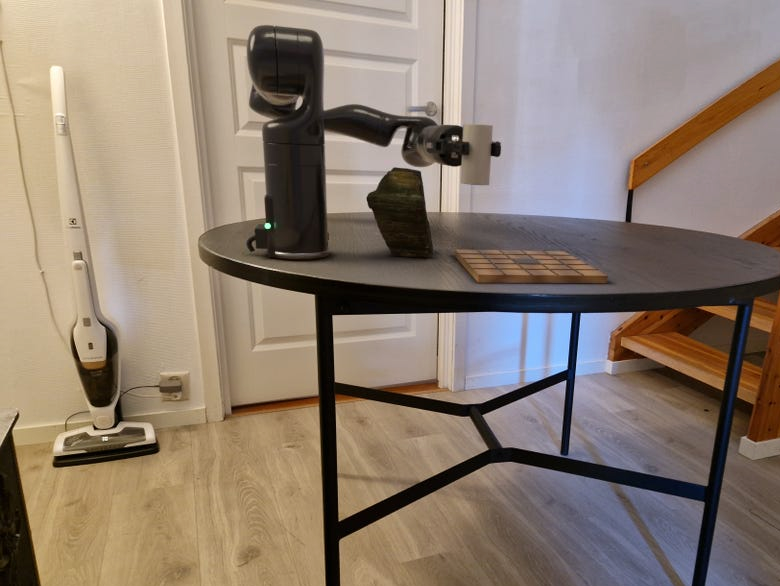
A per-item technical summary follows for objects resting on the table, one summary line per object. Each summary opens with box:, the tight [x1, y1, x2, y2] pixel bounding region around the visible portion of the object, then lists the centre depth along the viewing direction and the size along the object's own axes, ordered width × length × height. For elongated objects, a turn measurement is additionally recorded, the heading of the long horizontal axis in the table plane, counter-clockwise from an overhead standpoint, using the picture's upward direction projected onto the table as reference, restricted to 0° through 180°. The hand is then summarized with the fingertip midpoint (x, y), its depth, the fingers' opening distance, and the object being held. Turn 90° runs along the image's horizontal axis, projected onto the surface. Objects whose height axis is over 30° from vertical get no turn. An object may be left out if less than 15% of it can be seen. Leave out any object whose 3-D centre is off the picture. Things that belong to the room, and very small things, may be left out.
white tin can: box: [460, 123, 494, 186], centre depth 109 cm, size 5×5×10 cm
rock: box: [366, 167, 434, 259], centre depth 104 cm, size 12×9×15 cm
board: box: [454, 248, 609, 284], centre depth 100 cm, size 20×20×1 cm
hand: (482, 149), depth 106 cm, fingers closed on white tin can, 5 cm apart
